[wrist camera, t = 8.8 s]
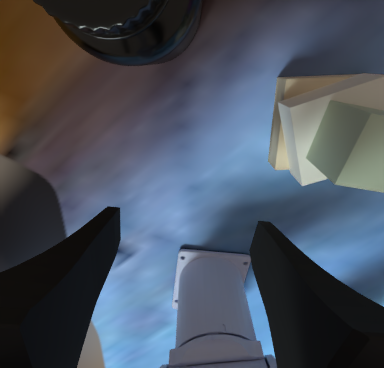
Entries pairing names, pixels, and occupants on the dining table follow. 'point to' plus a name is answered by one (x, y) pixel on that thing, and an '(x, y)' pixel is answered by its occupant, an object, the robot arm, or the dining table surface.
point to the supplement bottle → (128, 27)
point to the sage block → (350, 146)
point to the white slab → (313, 113)
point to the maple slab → (284, 90)
